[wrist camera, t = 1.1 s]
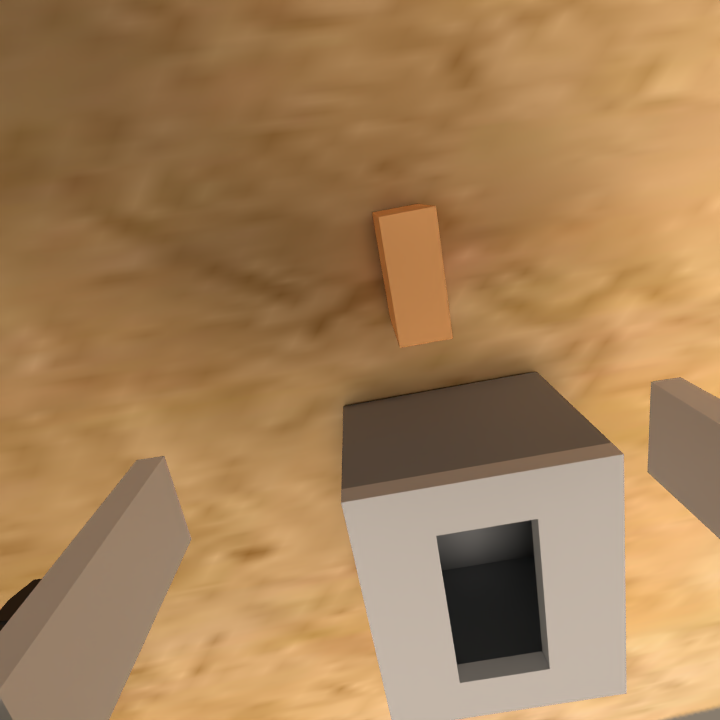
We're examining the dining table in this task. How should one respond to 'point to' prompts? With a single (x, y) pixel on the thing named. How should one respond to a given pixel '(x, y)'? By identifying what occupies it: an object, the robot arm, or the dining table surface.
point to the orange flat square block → (413, 273)
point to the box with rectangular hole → (487, 548)
